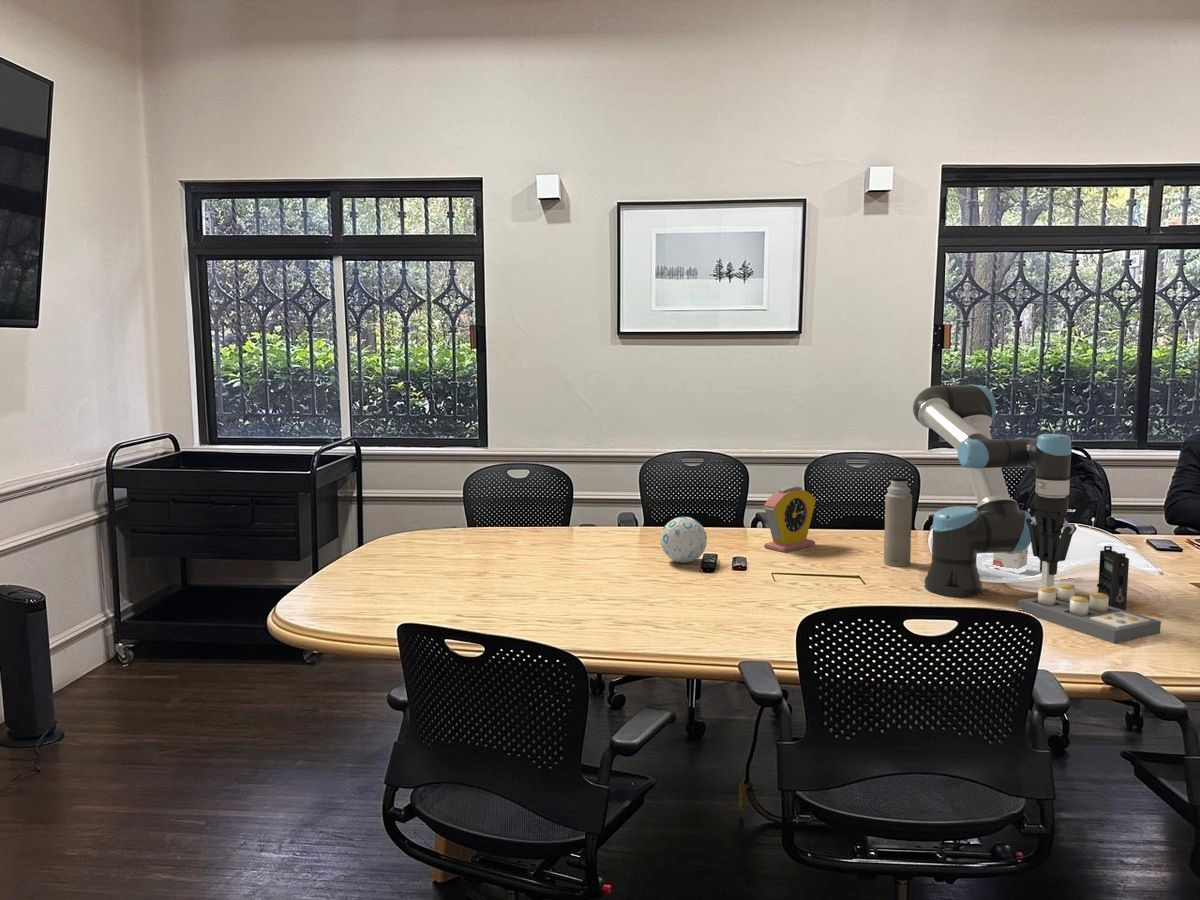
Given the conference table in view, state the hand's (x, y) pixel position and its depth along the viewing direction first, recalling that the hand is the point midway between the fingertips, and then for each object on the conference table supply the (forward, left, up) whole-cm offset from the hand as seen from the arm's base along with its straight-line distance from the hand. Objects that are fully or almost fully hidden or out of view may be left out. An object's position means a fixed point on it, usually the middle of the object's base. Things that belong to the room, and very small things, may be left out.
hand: (1047, 586), depth 210 cm
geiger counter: (+1, +22, -8) cm, 23 cm away
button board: (+8, +4, -7) cm, 12 cm away
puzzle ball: (-88, -58, -8) cm, 106 cm away
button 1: (0, 0, -5) cm, 5 cm away
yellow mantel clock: (-90, -15, -8) cm, 91 cm away
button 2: (0, +7, -5) cm, 9 cm away
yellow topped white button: (+9, +7, -5) cm, 12 cm away
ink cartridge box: (-35, +27, -8) cm, 44 cm away
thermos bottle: (-56, +2, -8) cm, 56 cm away
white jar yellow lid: (+9, 0, -5) cm, 10 cm away
